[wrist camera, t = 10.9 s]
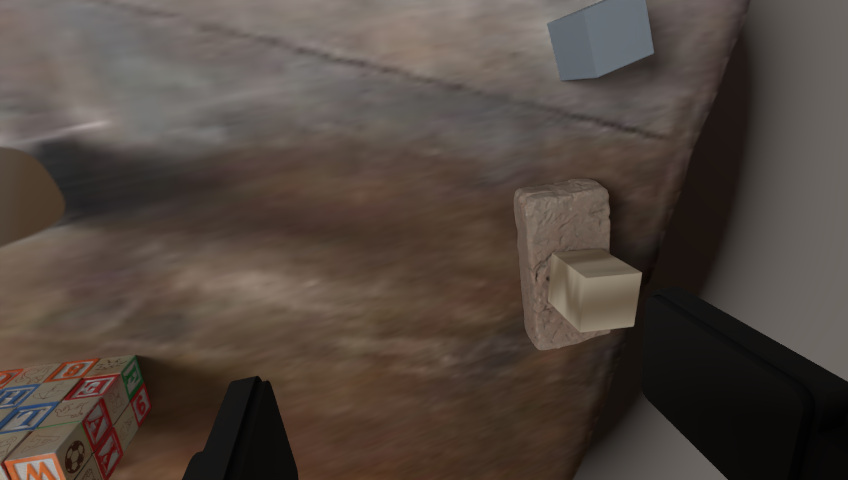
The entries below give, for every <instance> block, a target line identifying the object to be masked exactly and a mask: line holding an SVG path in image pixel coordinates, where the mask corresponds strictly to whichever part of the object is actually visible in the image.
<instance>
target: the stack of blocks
mask: <svg viewBox="0 0 848 480" xmlns="http://www.w3.org/2000/svg"><path fill="white" fill-rule="evenodd" d="M151 407H152V406H151V403H150V399H149V396H148V393H147V390H146V386H145V383H144V382H143V378H142V375H141V371H140V368H139V364H138V361H137V357H136V355H129V356H121V357H112V358H104V359H99V358H97V359H89V360H81V361H73V362H65V363H56V364H48V365H39V366H31V367H27V368H25V369H17V370H11V371H2V372H0V480H108V479H109V478H110V476H111V475H112V473H113V471H114V470H115V468H116V466H117V465H118V463H119V461H120V460H121V458H122V456H123V453H124V452H125V450H126V448H127V447H128V445H129V443H130V442H131V440H132V438H133V437H134V435H135V433H136V432H137V430H138V429H139V427H140V426H141V424H142V423H143V421H144V419H145V418H146V416H147V414H148V413H149V411H150V410H151Z"/></svg>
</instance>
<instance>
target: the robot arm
mask: <svg viewBox="0 0 848 480" xmlns="http://www.w3.org/2000/svg"><path fill="white" fill-rule="evenodd" d="M641 388H642V391H643V394H644V395H645V397H646V398H647V399H648V401H649V402H651V403H652V404H653V405H654V406H655V407H656V408H657V409H658V410H659V411H660V412H661V413H662V414H663V415H664V416H665V417H666V418H667V419H668V420H669V421H670V422H671V423H672V424H673V425H674V426H675V427H676V428H677V429H678V430H679V431H680V432H681V433H682V434H683V435H684V436H685V437H686V438H687V439H688V440H689V441H690V442H691V443H692V444H693V445H694V446H695V447H696V448H697V449H698V450H699V451H700V452H701V453H702V454H703V455H704V456H705V457H706V458H707V459H708V460H709V461H710V462H711V463H712V464H713V465H714V466H715V467H716V468H717V469H718V470H719V471H720V472H721V473H722V474H723V475H724V476H725V477H726V478H727V479H728V480H848V382H847V381H845V380H844V379H842V378H840V377H838V376H837V375H835V374H833V373H831V372H829V371H828V370H826V369H824V368H822V367H821V366H819V365H817V364H815V363H814V362H812V361H810V360H808V359H806V358H805V357H803V356H801V355H799V354H797V353H796V352H794V351H792V350H790V349H789V348H787V347H785V346H783V345H782V344H780V343H778V342H776V341H775V340H773V339H771V338H769V337H768V336H766V335H764V334H762V333H760V332H759V331H757V330H755V329H753V328H751V327H750V326H748V325H746V324H745V323H743V322H740V321H739V320H737V319H736V318H734V317H732V316H730V315H729V314H727V313H725V312H723V311H722V310H720V309H718V308H716V307H714V306H713V305H711V304H709V303H707V302H705V301H704V300H702V299H700V298H698V297H697V296H695V295H693V294H691V293H690V292H688V291H686V290H684V289H683V288H680V287H677V286H675V287H670V288H665V289H660V290H656V291H654V292H652V294H651V296H650V298H648V299H647V301H646V306H645V323H644V341H643V356H642V373H641ZM182 480H298V471H297V467H296V464H295V461H294V457H293V454H292V451H291V448H290V444H289V441H288V438H287V435H286V431H285V428H284V425H283V422H282V418H281V415H280V412H279V409H278V406H277V402H276V399H275V396H274V393H273V389H272V386H271V384H270V382H269V381H268V380H267V381H263V382H262V380H261V379H260V377H259V376H255V377H250V378H246V379H241V380H236V381H233V382H231V383H230V385H229V387H228V390H227V392H226V395H225V397H224V400H223V402H222V405H221V407H220V410H219V412H218V415H217V417H216V420H215V422H214V425H213V428H212V430H211V433H210V435H209V438H208V440H207V443H206V445H205V448H204V450H203V451H202V452H198V453H196V454H195V455H194V456H193V457H192V459H191V460H190V462H189V464H188V467H187V469H186V471H185V474H184V476H183V478H182Z"/></svg>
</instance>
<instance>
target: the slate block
mask: <svg viewBox="0 0 848 480" xmlns="http://www.w3.org/2000/svg"><path fill="white" fill-rule="evenodd" d="M547 26H548V30H549V34H550V38H551V42H552V46H553V50H554V54H555V58H556V63H557V67H558V71H559V75H560V79H561V81H563V80H575V79H586V78H598V77H600V76H602V75H605V74H607V73H609V72H612V71H614V70H616V69H619V68H621V67H623V66H626V65H628V64H630V63H633V62H635V61H637V60H640V59H642V58H644V57H647V56H649V55H651V54H654V49H653V43H652V37H651V31H650V24H649V18H648V12H647V6H646V0H603V1H600V2H598V3H595V4H593V5H591V6H588V7H586V8H583V9H581V10H579V11H576V12H574V13H571V14H569V15H567V16H564V17H562V18H560V19H557V20H555V21H552V22H550V23H548V24H547Z"/></svg>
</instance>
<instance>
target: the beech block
mask: <svg viewBox="0 0 848 480" xmlns="http://www.w3.org/2000/svg"><path fill="white" fill-rule="evenodd" d="M641 277H642V272H640V271H638V270H636V269H635V268H633V267H631V266H630V265H628V264H626V263H624V262H623V261H621V260H619V259H618V258H616V257H614V256H612V255H611V254H609V253H607V252H606V251H604V250H602V249H591V250H579V251H567V252H556V253H552V257H551V269H550V281H549V293H548V302H550V303H551V304H552V305H553V306H554V307H555V308H556V309H557V310H558V311H559V312H560V313H561V314H562V315H563V316H564V317H565V318H566V319H567V320H568V321H569V322H570V323H571V324H572V325H573V326H574V327H575V328H576V329H577V330H578V331H579V332H580V333H581V332H590V331H598V330H607V329H615V328H623V327H632V326H634V321H635V314H636V308H637V302H638V295H639V289H640V283H641Z"/></svg>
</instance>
